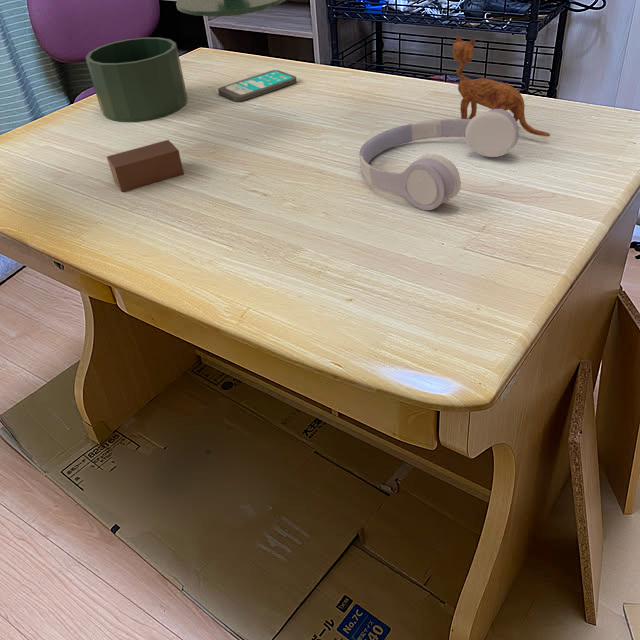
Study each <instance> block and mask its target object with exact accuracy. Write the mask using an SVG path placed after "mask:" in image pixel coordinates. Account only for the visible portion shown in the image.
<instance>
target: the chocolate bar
mask: <svg viewBox="0 0 640 640" xmlns="http://www.w3.org/2000/svg"><path fill="white" fill-rule="evenodd" d="M106 160H107V163H108V166H109V169H110V172H111V176H112V179H113V181H114V183H115V184H116V186H117V187H118V189H119V191H121V192H122V193H123V192H126V191H130V190H134V189H137V188H141V187H144V186H147V185H150V184H154V183H157V182H161V181H165V180H168V179H171V178H175V177H178V176H182V175H184V169H183V165H182V164H183V163H182V159H181V155H180V150H179V149H178V148H177V147H176V146H175V145H174V144H173V142H172V141H170V140H169V139H166V140H163V141H158V142H156V143H155V142H154V143H152V144H147V145H143V146H141V147H137V148H132V149H130V150H125V151H122V152H118V153H114V154H110V155H107V156H106Z"/></svg>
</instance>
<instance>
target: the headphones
mask: <svg viewBox="0 0 640 640" xmlns="http://www.w3.org/2000/svg"><path fill="white" fill-rule="evenodd" d="M513 116H514V115H513V114H512V113H511V112H510V111H508V110H507V111H506V110H503V109H489V110H488V111H484V112H481V113H478V114H476V116H475V117H473V118H472V119H461V118H444V119H430V120H424V121H418V122H413V123H407V124H403V125H399V126H396V127H392V128H390V129H387V130H385V131H382V132H380V133H377V134H376V135H374V136H372V137H370V138H369V139H368V140H367V141H365V142H364V144H362V146H361V147H360V149H359V154H358V156H359V164H360V170H361V175H362V177H363V179H364V180H365V181H366V182H367V183H368V184H369V185H370V186H373V187H374V188H376V189H379V190H382V191H385V192H389V193H394V194H396V195H400V196H401V197H403V198H405V199H406V200H407V201H408V202H409V203H410V204H411V205H412V206H414V207H415V208H417V209H420V210H422V211H432V210H434V209H437V208H438V207H439V206H441V205H443V204H445V203H446V202H448V201H449V200H450V199H453V198H454V197H456V196H457V195H458V194H459V193H460V191H461V188H462V187H461V185H462V181H461V177H460V176H461V175H460V172H459V169H458V168H457V167H456V165H455V164H454V163H453V162H452V161H451V160H450V159H448V158H447V157H444V156H442V155H439V154H435V153H427V154H424V155H421V156H419V157H418V158H416V160H414V161H413V162H411V163H410V164H409V165H408V167H406V168H405V170H403V171H401V172H389V171H386V170H381V169H379V168H376V167H374V166H372V165H370V164H369V163H370V161H372V159H374V158H375V157H376V156H378V155H380V154H381V153H383V152H384V151H386V150H388V149H390V148H393V147H396V146H400V145H405V144H408V143H409V144H410V143H412V142H416V141H422V140H429V139H438V138H440V139H441V138H465V142H466V145H468V147H469V148H470V149H471V150H472V151H473V152H475V153H476V154H478V155H480V156H482V157H487V158H498V157H502V156H504V155H506V154H508V153H509V152H510V151H511V150H512V149H513V148H514V147H515V146H516V144H517V142H518V140H519V135H520V130H519V124H518V121H517V122H516V120H515V118H514V117H513Z"/></svg>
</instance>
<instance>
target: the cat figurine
mask: <svg viewBox="0 0 640 640" xmlns="http://www.w3.org/2000/svg"><path fill="white" fill-rule="evenodd" d="M475 43H476V37H472V38H471V39H470V40H469V41H463V40H462V38H461V36H459V34H457V35H456V36H455V42H454V43H452V53H453V54H452V55H453V60H454V61H456V62H459V63H460V65H459V66H458V67H457V69H456V71H455V72H456V75H457V76H458V78H459V81H458V83H457V84H458V85H457V90H458V92H459V94H460V95H461V98H462V99H461V101H460V107H459V108H460V117H461V118H460V119H472V118H473V117H475V116H476V115H477V113H478V112H477V111H478V110H477V109H478V105H480V106H483V107H485V108H488V109H489V110H492V109H503V110H506V111H507V112H508V111H509V112H510V113H511V114H512V116H513V117H514V118H515V120H516V122H517V123H518V121H519V124H520V126H521V127H522V128H523V130H525V131H526V132H527V133H530V134H532V135H536V136H539V137H546V138H547V137H551V134H550V133H549V132H547V131H542V130H538V129H537V128H534V127H532V126H531V125H530V124H528V123H527V120H526V116H525V107H526V105H525V100H524V97H523V96H522V94H521V92H520V91H519V89H517V88H515V87H514V86H512V85H510V84H507V83H503V82H501V81H497V80H495V79H491V78H487V77H486V78H485V77H481V78H477V79H471V78H469V77H467V76H465V75H464V74H463V71H464V69H465V67H466V64H467V63H470V62H472V61H473V56H474V50H475V49H474V47H475ZM469 106H470V107H471V112H470V114H469V115H468V109H469Z"/></svg>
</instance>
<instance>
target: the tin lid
mask: <svg viewBox="0 0 640 640" xmlns="http://www.w3.org/2000/svg"><path fill="white" fill-rule="evenodd" d="M284 2H286V0H177V1H176V2H175V5H176V9H177V11H178V12H181V13H183V14H185V15H191V16H202V17H215V18H216V17H217V18H218V17H234V16H241V15H242V16H243V15H247V14H253V13H257V12H261V11H264V10H267V9H269V8H273V7H275V6H278V5H280V4H283V3H284Z"/></svg>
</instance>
